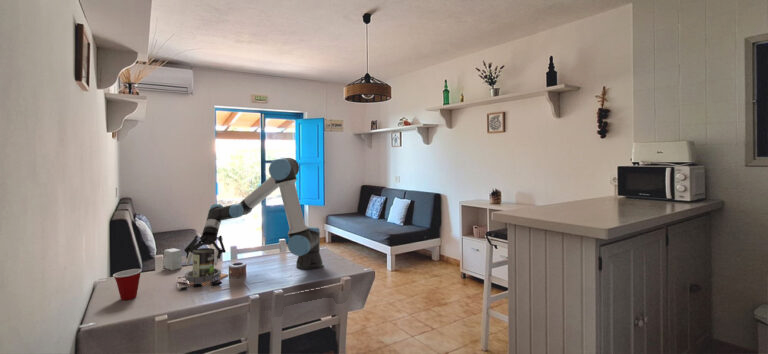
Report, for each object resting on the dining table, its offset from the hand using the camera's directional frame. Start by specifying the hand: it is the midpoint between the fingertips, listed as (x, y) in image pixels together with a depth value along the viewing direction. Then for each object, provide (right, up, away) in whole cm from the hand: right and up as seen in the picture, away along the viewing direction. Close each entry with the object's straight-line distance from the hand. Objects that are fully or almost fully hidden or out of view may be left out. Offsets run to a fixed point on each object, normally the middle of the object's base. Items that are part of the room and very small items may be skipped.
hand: (201, 264), depth 195 cm
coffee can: (0, -8, +3) cm, 8 cm away
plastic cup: (-21, -10, -24) cm, 34 cm away
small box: (-26, -7, +21) cm, 34 cm away
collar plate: (0, -8, +3) cm, 9 cm away
